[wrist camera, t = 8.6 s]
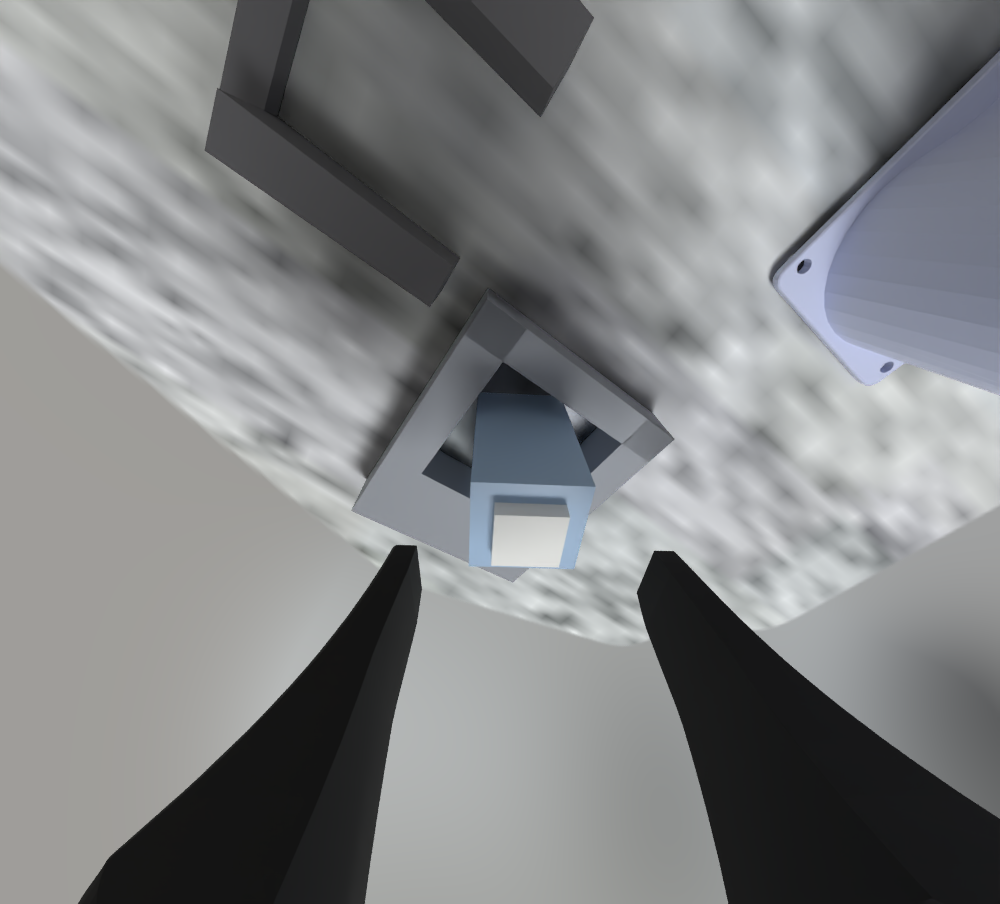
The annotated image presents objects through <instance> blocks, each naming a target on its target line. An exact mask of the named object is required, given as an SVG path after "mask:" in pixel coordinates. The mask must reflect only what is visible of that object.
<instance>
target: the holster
mask: <svg viewBox="0 0 1000 904" xmlns="http://www.w3.org/2000/svg"><path fill="white" fill-rule="evenodd" d="M425 1H426V2H427V3H428V4H429V5H430V6H431V7H432V8H433V9H434V10H435V11H436V12H437V13H438V14H439V15H440V16H441V17H442V18H443V19H444V20H445V21H446V22H447V23H448V24H449V25H450V26H451V27H452V28H453V29H454V30H455V31H456V32H457V33H458V34H459V35H460V36H461V37H462V38H463V39H464V40H465V41H466V42H467V43H468V44H469V45H470V46H471V47H472V48H473V49H474V50H475V51H476V52H477V53H478V54H479V55H480V56H481V57H482V58H483V59H484V60H485V61H486V62H487V63H488V64H489V65H490V66H491V67H492V68H493V70H494V71H495V72H496V73H497V74H498V75H499V76H500V77H501V78H502V79H503V80H504V81H505V82H506V83H507V84H508V85H509V86H510V87H511V88H512V89H513V90H514V91H515V92H516V93H517V94H518V95H519V96H520V97H521V98H522V99H523V100H524V101H525V102H526V103H527V104H528V105H529V106H530V107H531V108H532V109H533V110H534V111H535V112H536V113H537V114H538V115H539V116H540V117H541V115H542V114H543V112H544V110H545V108H546V107H547V105H548V103H549V101H550V100H551V98H552V96H553V94H554V93H555V91H556V89H557V87H558V86H559V84H560V82H561V80H562V79H563V77H564V75H565V73H566V72H567V70H568V68H569V66H570V65H571V63H572V61H573V59H574V57H575V55H576V53H577V51H578V49H579V47H580V45H581V43H582V41H583V39H584V37H585V35H586V33H587V31H588V29H589V27H590V25H591V23H592V21H593V19H594V17H593V16H592V15H591V14H590V12H589V11H588V10H587V9H586V8H585V6H584V5H583V4H582V3H581V1H580V0H425ZM308 3H309V0H238V3H237V8H236V13H235V17H234V22H233V27H232V32H231V37H230V42H229V47H228V52H227V56H226V61H225V66H224V71H223V76H222V81H221V86H220V89H218V88H217V92H216V97H215V102H214V107H213V112H212V117H211V122H210V127H209V132H208V137H207V141H206V146H205V151H206V152H208V153H209V154H211V155H212V156H214V157H215V158H216V159H218V160H219V161H221V162H222V163H224V164H225V165H226V166H228V167H229V168H231V169H232V170H234V171H235V172H237V173H238V174H239V175H241V176H242V177H244V178H245V179H247V180H248V181H249V182H251V183H252V184H254V185H255V186H257V187H258V188H260V189H261V190H262V191H264V192H265V193H267V194H268V195H270V196H271V197H272V198H274V199H275V200H277V201H278V202H280V203H281V204H283V205H284V206H285V207H287V208H288V209H290V210H291V211H293V212H294V213H295V214H297V215H298V216H300V217H301V218H303V219H304V220H306V221H307V222H308V223H310V224H311V225H313V226H314V227H316V228H317V229H318V230H320V231H321V232H323V233H324V234H326V235H327V236H329V237H330V238H331V239H333V240H334V241H336V242H337V243H339V244H340V245H342V246H343V247H344V248H346V249H347V250H349V251H350V252H352V253H353V254H354V255H356V256H357V257H359V258H360V259H362V260H363V261H365V262H366V263H367V264H369V265H370V266H372V267H373V268H375V269H376V270H377V271H379V272H380V273H382V274H383V275H385V276H386V277H388V278H389V279H390V280H392V281H393V282H395V283H396V284H398V285H399V286H400V287H402V288H403V289H405V290H406V291H408V292H409V293H411V294H412V295H413V296H415V297H416V298H418V299H419V300H421V301H422V302H423V303H425V304H426V305H428V306H429V307H430V306H431V304H432V303H433V302H434V300H435V299H436V298H437V296H438V295H439V293H440V292H441V290H442V289H443V287H444V285H445V283H446V282H447V280H448V278H449V276H450V275H451V273H452V271H453V269H454V268H455V266H456V264H457V262H458V261H459V259H460V258H459V257H458V256H457V255H456V254H454V253H453V252H452V251H450V250H449V249H448V248H446V247H445V246H444V245H443V244H441V243H440V242H439V241H437V240H436V239H435V238H434V237H432V236H431V235H430V234H428V233H427V232H426V231H424V230H423V229H422V228H421V227H419V226H418V225H417V224H415V223H414V222H413V221H411V220H410V219H409V218H408V217H406V216H405V215H404V214H402V213H401V212H400V211H399V210H397V209H396V208H395V207H393V206H392V205H391V204H389V203H388V202H387V201H386V200H384V199H383V198H382V197H380V196H379V195H378V194H376V193H375V192H374V191H373V190H371V189H370V188H369V187H367V186H366V185H365V184H364V183H362V182H361V181H360V180H358V179H357V178H356V177H354V176H353V175H352V174H351V173H349V172H348V171H347V170H345V169H344V168H343V167H342V166H340V165H339V164H338V163H336V162H335V161H334V160H332V159H331V158H330V157H329V156H327V155H326V154H325V153H323V152H322V151H321V150H319V149H318V148H317V147H316V146H314V145H313V144H312V143H310V142H309V141H308V140H307V139H305V138H304V137H303V136H301V135H300V134H299V133H297V132H296V131H295V130H294V129H292V128H291V127H290V126H288V125H287V124H286V123H284V122H283V121H282V120H281V119H279V118H278V117H277V116H278V112H279V108H280V105H281V101H282V98H283V94H284V90H285V87H286V83H287V79H288V76H289V72H290V69H291V65H292V61H293V58H294V54H295V50H296V47H297V43H298V40H299V36H300V32H301V29H302V25H303V22H304V18H305V14H306V11H307V7H308Z"/></svg>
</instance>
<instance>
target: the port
mask: <svg viewBox="0 0 1000 904" xmlns="http://www.w3.org/2000/svg"><path fill="white" fill-rule="evenodd" d="M502 362H504V363H506V364H507V365H509V366H510V367H511V368H513V369H514V370H516V371H517V372H519V373H520V374H522V375H523V376H524V377H526V378H527V379H529V380H530V381H532V382H533V383H535V384H536V385H537V386H539V387H540V388H542V389H543V390H545V391H546V392H548V393H549V394H550V395H552V396H553V397H555V398H556V399H558V400H559V401H561V402H562V403H564V404H565V405H566V406H568V407H569V408H571V409H572V410H574V411H575V412H577V413H578V414H579V415H581V416H582V417H584V418H585V419H587V420H588V421H590V422H591V423H592V424H594V425H595V426H597V428H596V429H595V430H594V431H593V432H592V433H591V434H590V435H589V436H588V437H587V438H586V439H585V440H584V441H583V442H582V444H581V445H580V447H581V450H582V452H583V455H584V458H585V460H586V463H587V465H588V468H589V471H590V473H591V476H592V478H593V481H594V483H595V486H596V488H595V492H594V496H593V499H592V503H591V507H590V511H589V514H588V515H590V514H591V513H592V512H593V511H594V510H595V509H596V508H597V507H599V506H600V505H601V504H602V503H603V502H604V501H605V500H607V499H608V498H609V497H610V496H611V495H612V494H613V493H614V492H616V491H617V490H618V489H619V488H620V487H621V486H622V485H623V484H625V483H626V482H627V481H628V480H629V479H630V478H631V477H633V476H634V475H635V474H636V473H637V472H638V471H639V470H640V469H642V468H643V467H644V466H645V465H646V464H647V463H648V462H649V461H651V460H652V459H653V458H654V457H655V456H656V455H657V454H658V453H660V452H661V451H662V450H663V449H664V448H665V447H666V446H668V445H669V444H670V443H671V442H672V441H673V440H674V438H673V437H672V436H671V435H670V433H669V432H668V431H667V430H666V429H665V427H664V426H663V425H662V424H661V423H660V421H659V420H658V419H657V418H656V417H655V415H654V414H653V413H652V412H650V411H649V410H648V409H646V408H645V407H644V406H642V405H641V404H640V403H639V402H637V401H636V400H635V399H633V398H632V397H631V396H629V395H628V394H627V393H625V392H624V391H623V390H621V389H620V388H619V387H618V386H616V385H615V384H614V383H612V382H611V381H610V380H608V379H607V378H606V377H604V376H603V375H602V374H601V373H599V372H598V371H597V370H595V369H594V368H593V367H591V366H590V365H589V364H587V363H586V362H585V361H583V360H582V359H581V358H580V357H578V356H577V355H576V354H574V353H573V352H572V351H570V350H569V349H568V348H566V347H565V346H564V345H562V344H561V343H560V342H559V341H557V340H556V339H555V338H553V337H552V336H551V335H549V334H548V333H547V332H545V331H544V330H543V329H541V328H540V327H539V326H538V325H536V324H535V323H534V322H532V321H531V320H530V319H528V318H527V317H526V316H524V315H523V314H522V313H520V312H519V311H518V310H517V309H515V308H514V307H513V306H511V305H510V304H509V303H507V302H506V301H505V300H503V299H502V298H501V297H500V296H498V295H497V294H496V293H494V292H493V291H492V290H490V289H489V288H488V289H487V290H486V292H485V294H484V295H483V297H482V298H481V300H480V301H479V303H478V305H477V306H476V308H475V309H474V311H473V312H472V314H471V316H470V317H469V319H468V320H467V322H466V323H465V325H464V327H463V328H462V330H461V331H460V333H459V335H458V336H457V338H456V339H455V341H454V342H453V344H452V346H451V347H450V349H449V350H448V352H447V353H446V355H445V357H444V358H443V360H442V361H441V363H440V364H439V366H438V368H437V369H436V371H435V372H434V374H433V376H432V377H431V379H430V380H429V382H428V383H427V385H426V387H425V388H424V390H423V391H422V393H421V394H420V396H419V398H418V399H417V401H416V402H415V404H414V405H413V407H412V409H411V410H410V412H409V413H408V415H407V417H406V418H405V420H404V421H403V423H402V424H401V426H400V428H399V429H398V431H397V432H396V434H395V435H394V437H393V439H392V440H391V442H390V443H389V445H388V446H387V448H386V450H385V451H384V453H383V454H382V456H381V458H380V459H379V461H378V462H377V464H376V465H375V467H374V469H373V470H372V472H371V473H370V475H369V476H368V478H367V480H366V482H365V484H364V486H363V488H362V490H361V492H360V494H359V496H358V498H357V500H356V502H355V504H354V506H353V508H352V510H351V511H353V512H355V513H357V514H360V515H362V516H364V517H366V518H369V519H371V520H373V521H375V522H378V523H380V524H382V525H384V526H387V527H389V528H391V529H393V530H396V531H398V532H400V533H403V534H405V535H407V536H409V537H412V538H414V539H416V540H418V541H421V542H423V543H425V544H427V545H430V546H432V547H434V548H436V549H439V550H441V551H443V552H445V553H448V554H450V555H452V556H454V557H457V558H459V559H461V560H463V561H466V562H468V563H469V536H470V485H471V471H472V468H470V467H468V466H467V465H465V464H463V463H461V462H459V461H457V460H456V459H454V458H452V457H450V456H448V455H447V454H445V453H443V452H441V451H439V449H440V447H441V446H442V445H443V443H444V442H445V441H446V439H447V438H448V436H449V435H450V434H451V432H452V431H453V430H454V428H455V427H456V425H457V424H458V423H459V421H460V420H461V419H462V417H463V416H464V414H465V413H466V412H467V410H468V409H469V408H470V406H471V405H472V404H473V402H474V401H475V399H476V398H477V397H478V395H479V394H480V393H481V391H482V390H483V388H484V387H485V386H486V384H487V383H488V382H489V380H490V379H491V377H492V376H493V375H494V373H495V372H496V371H497V369H498V368H499V366H500V365H501V364H502ZM477 567H479V566H477ZM479 568H481V569H484V570H486V571H488V572H490V573H493V574H495V575H497V576H499V577H502V578H504V579H506V580H508V581H511V582H514V581H515V580H516V579H517V578H518V577H520V576H521V575H522V574H523V573H524V572H525V571H526V570H527V569H529V568H517V567H479Z"/></svg>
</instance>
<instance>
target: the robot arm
mask: <svg viewBox="0 0 1000 904" xmlns="http://www.w3.org/2000/svg"><path fill="white" fill-rule="evenodd" d="M803 260H804V265H803V267H802V268H801V270H799V271H798V272H797V267H798V265H799V263H800V262H801V261H803ZM773 286H774V288H775V289H776V290H777V291H778V293H779V294H780V295H781V296H782V297H783V298H784V299H785V300H786V302H787V303H788V304H789V305H790V306H791V307H792V308H793V309H794V311H795V312H796V313H797V314H798V315H799V316H800V317H801V318H802V320H803V321H804V322H805V323H806V324H807V325H808V326H809V327H810V329H811V330H812V331H813V332H814V333H815V334H816V335H817V336H818V337H819V339H820V340H821V341H822V342H823V343H824V344H825V345H826V346H827V348H828V349H829V350H830V351H831V352H832V353H833V354H834V355H835V357H836V358H837V359H838V360H839V361H840V362H841V363H842V364H843V366H844V367H845V368H846V369H847V370H848V371H849V372H850V373H851V375H852V376H853V377H854V378H855V379H856V380H857V381H858V382H859V383H861V384H864V385H866V386H870V385H874V384H876V383H878V382H879V381H881V380H882V379H884V378H885V377H886V376H888V375H889V374H890V373H892V372H893V371H894V370H896V369H897V368H899V367H900V366H901V365H903V364H904V363H907V364H910V365H913V366H916V367H919V368H922V369H925V370H928V371H930V372H933V373H936V374H939V375H942V376H945V377H948V378H951V379H954V380H957V381H959V382H962V383H965V384H968V385H971V386H974V387H977V388H980V389H983V390H986V391H988V392H991V393H994V394H997V395H1000V51H999V52H998V53H997V54H996V55H995V56H994V57H993V58H992V59H991V60H990V61H989V62H988V63H987V64H986V65H985V66H984V67H983V68H982V69H981V70H980V71H979V72H978V73H977V74H976V75H975V76H974V77H973V78H972V79H970V80H969V81H968V82H967V83H966V84H965V85H964V86H963V87H962V88H961V89H960V90H959V91H958V92H957V93H956V94H955V95H954V96H953V97H952V98H951V99H950V100H949V101H948V102H947V103H946V104H945V105H944V106H943V107H942V108H941V109H940V110H939V111H938V112H937V113H936V114H935V115H934V116H933V117H932V118H931V119H930V120H929V121H928V122H927V123H926V124H925V125H924V126H923V127H922V128H921V129H920V130H919V131H918V132H917V133H916V134H915V135H914V136H913V137H912V138H911V139H910V140H909V141H908V142H907V143H906V144H905V145H904V146H903V147H902V148H901V149H900V150H899V151H898V152H897V153H896V154H895V155H894V156H893V157H892V158H891V159H890V160H889V161H888V162H887V163H886V164H885V165H884V166H883V167H882V168H881V169H880V170H879V171H877V172H876V173H875V174H874V175H873V176H872V177H871V178H870V179H869V180H868V181H867V182H866V183H865V184H864V185H863V186H862V187H861V188H860V189H859V190H858V191H857V192H856V193H855V194H854V195H853V196H852V197H851V198H850V199H849V200H848V201H847V202H846V203H845V204H844V205H843V206H842V207H841V208H840V209H839V210H838V211H837V212H836V213H835V214H834V215H833V216H832V217H831V218H830V219H829V220H828V221H827V222H826V223H825V224H824V225H823V226H822V227H821V228H820V229H819V230H818V231H817V232H816V233H815V234H814V235H813V236H812V237H811V238H810V239H809V240H808V241H807V242H806V243H805V244H804V245H803V246H802V247H801V248H800V249H799V250H798V251H797V252H796V253H795V254H794V255H793V256H792V257H791V258H790V259H789V260H788V261H787V262H786V263H784V264H783V265H782V266H781V267H780V268H779V270H778V271H777V272H776V273H775V275H774V278H773ZM882 366H883V367H882ZM881 367H882V368H881ZM421 591H422V586H421V578H420V569H419V561H418V552H417V546H414V545H396V546H394V547H393V548H392V550H391V552H390V553H389V555H388V557H387V558H386V560H385V562H384V563H383V565H382V567H381V568H380V570H379V571H378V573H377V575H376V576H375V578H374V579H373V581H372V582H371V584H370V586H369V587H368V588H367V590H366V591H365V593H364V594H363V595H362V597H361V598H360V600H359V601H358V602H357V604H356V605H355V607H354V608H353V609H352V611H351V612H350V614H349V615H348V616H347V618H346V619H345V620H344V622H343V623H342V624H341V625H340V627H339V628H338V629H337V631H336V632H335V633H334V634H333V636H332V637H331V638H330V640H329V641H328V642H327V643H326V645H325V646H324V647H323V648H322V650H321V651H320V652H319V653H318V654H317V656H316V657H315V658H314V659H313V660H312V661H311V663H310V664H309V665H308V666H307V667H306V669H305V670H304V671H303V672H302V673H301V674H300V675H299V676H298V678H297V679H296V680H295V681H294V682H293V683H292V684H291V685H290V687H289V688H288V689H287V690H286V691H285V692H284V693H283V694H282V695H281V696H280V697H279V698H278V699H277V701H276V702H275V703H274V704H273V705H272V706H271V707H270V708H269V709H268V710H267V711H266V712H265V713H264V714H263V716H261V717H260V718H259V719H258V720H257V721H256V723H254V724H253V726H252V727H251V728H250V729H249V730H248V731H247V732H246V733H245V734H244V735H242V736H241V737H240V738H239V739H238V741H236V742H235V743H234V744H233V745H232V746H231V747H230V748H229V749H228V750H227V751H226V752H225V753H224V754H223V755H222V756H221V757H220V758H219V759H218V760H216V761H215V762H214V763H213V764H212V765H211V766H210V767H209V768H208V769H207V770H206V771H205V772H204V773H203V774H202V775H201V776H200V777H199V778H198V779H197V780H196V781H194V782H193V783H192V784H191V785H190V786H189V787H188V788H187V789H186V790H185V791H184V792H183V793H181V794H180V795H179V796H178V797H177V798H176V799H175V800H173V801H172V802H171V803H170V804H169V805H168V806H167V807H166V808H164V809H163V810H162V811H161V812H160V813H159V814H158V815H156V816H155V817H154V818H153V819H152V820H151V821H150V822H149V823H148V824H146V825H145V826H144V827H143V828H142V829H141V830H140V831H138V832H137V833H136V834H135V835H134V836H133V837H132V838H131V839H129V840H128V841H127V842H126V843H125V844H124V845H123V846H121V847H120V848H119V849H118V850H117V851H116V852H115V853H114V854H112V855H111V856H110V857H109V859H108V860H107V861H106V863H105V865H104V866H103V868H102V869H101V871H100V872H99V874H98V875H97V876H96V878H95V879H94V881H93V882H92V883H91V885H90V886H89V888H88V889H87V890H86V892H85V893H84V895H83V897H82V898H81V900H80V901H79V903H78V904H365V896H366V889H367V882H368V874H369V868H370V861H371V854H372V847H373V840H374V834H375V827H376V820H377V813H378V807H379V801H380V795H381V788H382V782H383V775H384V770H385V763H386V758H387V752H388V746H389V740H390V734H391V728H392V723H393V718H394V713H395V709H396V704H397V700H398V696H399V692H400V688H401V684H402V680H403V676H404V673H405V668H406V665H407V661H408V657H409V653H410V648H411V644H412V641H413V636H414V632H415V628H416V624H417V618H418V612H419V605H420V598H421ZM637 595H638V599H639V603H640V608H641V612H642V615H643V619H644V623H645V626H646V629H647V632H648V635H649V637H650V640H651V642H652V645H653V648H654V650H655V653H656V656H657V658H658V661H659V663H660V666H661V669H662V671H663V674H664V676H665V679H666V681H667V684H668V687H669V689H670V692H671V694H672V697H673V699H674V702H675V704H676V707H677V710H678V713H679V716H680V718H681V722H682V724H683V728H684V731H685V734H686V738H687V741H688V745H689V748H690V751H691V755H692V758H693V762H694V765H695V769H696V772H697V776H698V780H699V783H700V787H701V791H702V795H703V798H704V802H705V806H706V809H707V813H708V817H709V822H710V826H711V829H712V834H713V838H714V842H715V846H716V850H717V854H718V858H719V862H720V867H721V871H722V876H723V881H724V885H725V890H726V895H727V899H728V904H1000V819H999V818H998V817H996V816H994V815H993V814H991V813H990V812H988V811H987V810H985V809H984V808H982V807H980V806H979V805H977V804H976V803H974V802H973V801H971V800H970V799H968V798H967V797H965V796H963V795H962V794H961V793H959V792H958V791H956V790H955V789H953V788H952V787H950V786H949V785H948V784H946V783H945V782H943V781H942V780H940V779H939V778H937V777H936V776H935V775H933V774H932V773H930V772H929V771H927V770H926V769H924V768H923V767H921V766H920V765H919V764H917V763H916V762H914V761H913V760H912V759H910V758H909V757H907V756H906V755H905V754H903V753H902V752H900V751H899V750H898V749H896V748H895V747H893V746H892V745H890V744H889V743H888V742H887V741H885V740H884V739H882V738H881V737H879V736H878V735H877V734H875V732H873V731H872V730H871V729H869V728H868V727H867V726H865V725H864V724H863V723H861V722H860V721H858V720H857V719H856V718H855V717H853V716H852V715H851V714H849V713H848V712H847V711H846V710H844V709H843V708H841V707H840V706H839V705H838V704H837V703H835V702H834V701H833V700H832V699H830V698H829V697H828V696H827V695H825V694H824V693H823V692H822V691H820V690H819V689H818V688H817V687H816V686H815V685H813V684H812V683H811V682H810V681H809V680H807V679H806V678H805V677H804V676H802V675H801V674H800V673H799V672H798V671H797V670H795V669H794V668H793V667H792V666H791V665H790V664H788V663H787V662H786V661H785V660H784V659H783V658H782V657H780V656H779V655H778V654H777V653H776V652H775V651H774V650H773V649H772V648H771V647H769V646H768V645H767V644H766V643H765V642H764V641H763V640H762V639H761V638H760V637H759V636H757V635H756V634H755V633H754V632H753V631H752V630H751V629H750V628H749V627H748V626H747V625H746V624H745V623H744V622H743V621H742V620H741V619H740V618H739V617H738V616H737V615H736V614H735V613H734V612H733V611H732V610H731V609H730V608H729V607H728V606H727V605H726V604H725V603H724V602H723V601H722V600H721V599H720V598H719V597H718V596H717V595H716V594H715V593H714V592H713V591H712V590H711V589H710V588H709V587H708V586H707V585H706V584H705V583H704V582H703V581H702V580H701V579H700V578H699V577H698V575H697V574H696V573H695V572H694V571H693V570H692V569H691V568H690V567H689V566H688V565H687V564H686V563H685V562H684V561H683V560H682V559H681V558H680V557H679V556H678V555H677V554H676V553H675V552H674V551H654V553H653V555H652V558H651V560H650V562H649V565H648V567H647V570H646V572H645V574H644V577H643V579H642V582H641V584H640V586H639V589H638V591H637Z"/></svg>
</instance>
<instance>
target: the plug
mask: <svg viewBox="0 0 1000 904" xmlns="http://www.w3.org/2000/svg"><path fill="white" fill-rule="evenodd" d="M595 488H596V486H595V483H594V481H593V478H592V476H591V473H590V471H589V468H588V465H587V463H586V460H585V458H584V455H583V452H582V450H581V447H580V445H579V442H578V440H577V437H576V434H575V432H574V429H573V427H572V424H571V421H570V419H569V416H568V414H567V411H566V409H565V406H564V403H562V402H561V401H559V400H558V399H556V398H555V397H553V396H546V395H526V394H505V393H485V392H481V393H480V394H479V395H478V401H477V413H476V424H475V436H474V448H473V459H472V471H471V485H470V536H469V566H479V567H517V568H555V569H574V567H575V563H576V560H577V556H578V552H579V548H580V545H581V541H582V537H583V533H584V530H585V526H586V522H587V518H588V514H589V511H590V507H591V503H592V499H593V496H594V492H595Z"/></svg>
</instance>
